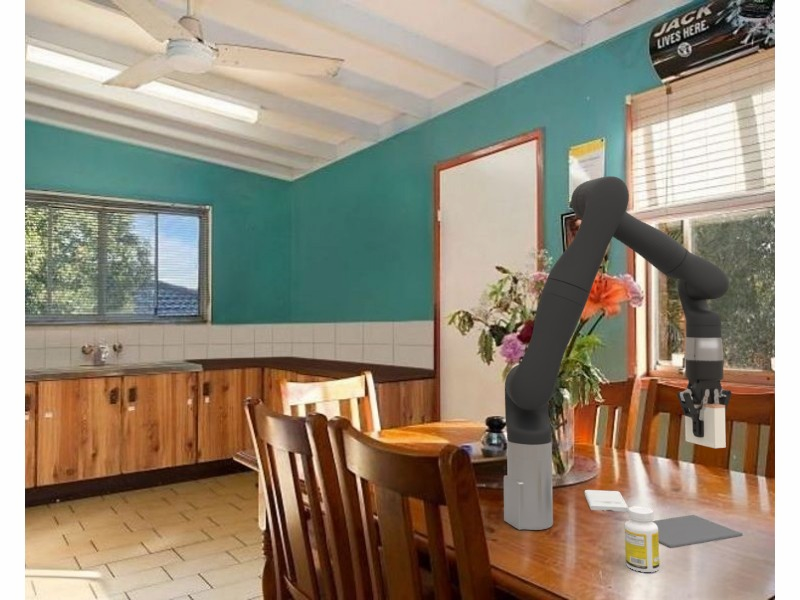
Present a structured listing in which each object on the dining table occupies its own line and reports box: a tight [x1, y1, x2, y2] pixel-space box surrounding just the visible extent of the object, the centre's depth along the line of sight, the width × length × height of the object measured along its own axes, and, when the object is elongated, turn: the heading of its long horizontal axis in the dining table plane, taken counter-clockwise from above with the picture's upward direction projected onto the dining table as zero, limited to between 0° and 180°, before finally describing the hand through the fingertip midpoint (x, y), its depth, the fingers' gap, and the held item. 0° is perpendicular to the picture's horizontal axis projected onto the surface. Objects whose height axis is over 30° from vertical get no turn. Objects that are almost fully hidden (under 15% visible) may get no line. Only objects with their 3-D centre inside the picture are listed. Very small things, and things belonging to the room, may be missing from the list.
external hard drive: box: [584, 489, 630, 513], centre depth 139 cm, size 2×8×12 cm
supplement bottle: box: [624, 506, 660, 573], centre depth 103 cm, size 5×5×10 cm
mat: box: [652, 514, 744, 549], centre depth 120 cm, size 18×12×1 cm, turn 110°
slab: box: [684, 403, 727, 449], centre depth 132 cm, size 3×8×9 cm, turn 20°
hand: (705, 435), depth 132 cm, fingers closed on slab, 3 cm apart
